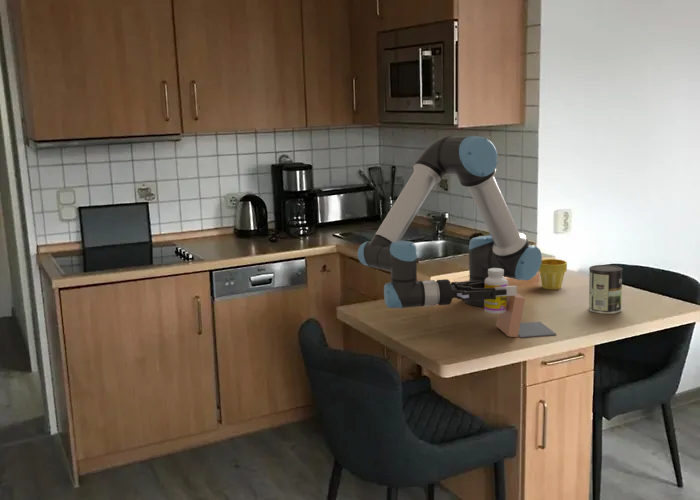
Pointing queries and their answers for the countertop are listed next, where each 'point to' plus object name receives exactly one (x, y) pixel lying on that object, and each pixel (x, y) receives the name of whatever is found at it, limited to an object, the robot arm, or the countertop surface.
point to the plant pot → (552, 273)
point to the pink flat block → (511, 316)
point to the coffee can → (605, 289)
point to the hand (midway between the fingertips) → (512, 287)
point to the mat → (534, 330)
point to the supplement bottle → (490, 282)
